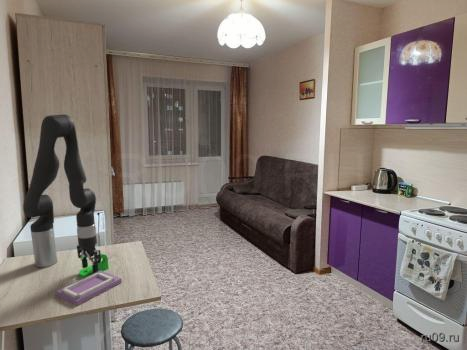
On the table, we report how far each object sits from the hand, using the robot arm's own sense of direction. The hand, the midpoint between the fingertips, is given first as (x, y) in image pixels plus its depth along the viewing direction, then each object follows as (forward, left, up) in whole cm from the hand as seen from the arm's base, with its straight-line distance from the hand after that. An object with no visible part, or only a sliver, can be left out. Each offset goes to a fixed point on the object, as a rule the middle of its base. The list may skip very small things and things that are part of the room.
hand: (90, 269), depth 145 cm
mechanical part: (0, +1, -2) cm, 3 cm away
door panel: (+11, -8, -2) cm, 14 cm away
